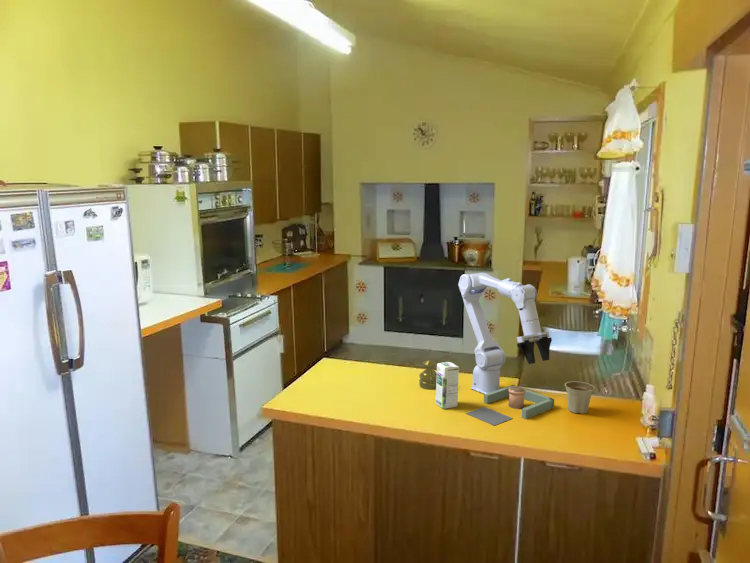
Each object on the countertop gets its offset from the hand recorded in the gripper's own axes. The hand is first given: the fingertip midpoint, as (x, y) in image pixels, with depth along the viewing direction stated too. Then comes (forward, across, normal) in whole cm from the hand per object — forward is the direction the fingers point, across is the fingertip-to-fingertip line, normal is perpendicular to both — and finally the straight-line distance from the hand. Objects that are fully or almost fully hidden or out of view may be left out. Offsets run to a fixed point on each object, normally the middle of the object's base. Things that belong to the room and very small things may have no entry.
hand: (539, 362), depth 185 cm
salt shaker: (+3, -10, +44) cm, 45 cm away
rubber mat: (+14, -14, +14) cm, 24 cm away
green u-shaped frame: (+14, +1, +13) cm, 19 cm away
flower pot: (+19, +14, -1) cm, 23 cm away
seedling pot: (+14, 0, +14) cm, 19 cm away
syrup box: (+9, -18, +28) cm, 34 cm away
